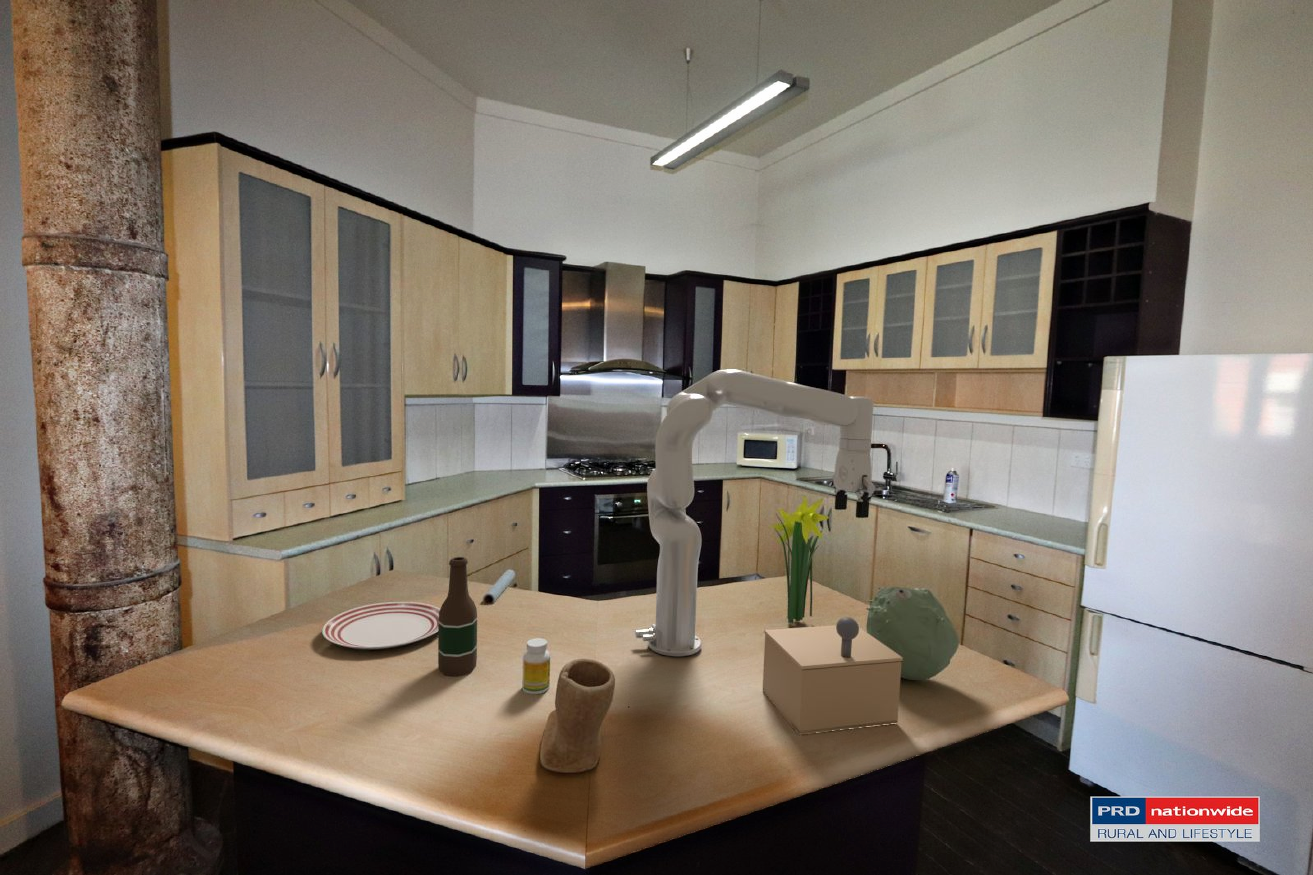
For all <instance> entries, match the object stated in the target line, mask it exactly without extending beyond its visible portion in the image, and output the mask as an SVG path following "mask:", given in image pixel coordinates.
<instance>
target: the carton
mask: <svg viewBox="0 0 1313 875" xmlns="http://www.w3.org/2000/svg"><path fill="white" fill-rule="evenodd" d="M763 650H764V651H763V670H762V671H763V672H762V674H763V675H762V690H763V691H764V692H765V693H764V692H763V691H762V692H763V693H764V695H765V694H766V695H767V696H768V697H769V698H768V697H767V696H766V695H765V696H766V697H767V698H768V700H769V699H770V700H771V701H772V702H771V701H770V700H769V701H770V702H771V703H772V704H773V706H774V705H775V706H774V707H775V708H776V709H777V710H778V712H779V714H781V716H783V717H784V719H785V720H786V721H787V723H788V724H789V723H790V724H789V725H790V726H791V727H792V729H793V728H794V729H795V730H794V729H793V730H794V731H795V733H796V734H797V733H798V734H799V735H800V736H803V735H802V734H808V735H811V734H810V733H816V732H826V731H832V730H840V729H849V728H859V727H866V726H873V725H883V724H891V723H897V724H898V721H899V720H898V719H899V704H900V691H901V678H902V677H901V663H902V662H901V661H894V662H883V663H871V664H859V665H848V666H836V667H825V668H813V669H801V668H800V667H799V666H798V665H797V664H795V663H794V662H793V661H792V660H791V659H790V658H789V657H788V656H787V655H786V654H785V653H784V652H783V651H782V650H781V649H780V648H779V647H778V646H777V645H776V644H775V643H774V642H773V641H772V640H771V639H770V638H769V637H768V636H767V635H766V634H765V633H764V649H763ZM826 733H827V732H826ZM798 734H797V735H798ZM799 735H798V736H799Z"/></svg>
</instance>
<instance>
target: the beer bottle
mask: <svg viewBox="0 0 1313 875" xmlns="http://www.w3.org/2000/svg"><path fill="white" fill-rule="evenodd" d="M468 563H469V562H468V558H466V557H464V556H456V557H452V558H451V559H450V560H449V562H448V565H449V566H450V570H449V580H448V592H447V596H446V598H445V599H444V601H443V603H442V604H441V607H440V611H439V620H438V632H437V633H438V634H437V635H438V636H437V638H438V642H437V647H438V648H437V659H438V660H437V664H438V665H437V666H438V671H439V673H441V674H442V675H443V676H444V677H456V678H457V677H462V676H465V675H467V674H470V673H472V672H473V671H474V669H475V668H476V666H477V660H478V659H477V658H478V610H477V609H478V608H477V605H476V604H475V601H474V600H473V599H472V598H471V596H470V593H469V588H468V587H469V586H468V584H469V583H468V571H467V570H468V568H467V565H468Z"/></svg>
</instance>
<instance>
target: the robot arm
mask: <svg viewBox="0 0 1313 875" xmlns="http://www.w3.org/2000/svg"><path fill="white" fill-rule="evenodd" d="M724 405H727V406H728V405H729V406H733V407H737V408H741V409H746V410H750V411H754V412H755V411H756V412H759V413H764V414H768V415H771V416H777V417H778V416H779V417H783V418H797V419H798V418H799V419H805V420H810V421H813V422H814V423H816V424H819V425H824V426H832V427H840V428H839V446H838V451H837V453H836V454H837V455H836V459H835V466H834V474H833V475H832V480H833V488H834V494H835V496H834V510H836V511H840V510H841V511H844V510H847V508H848V494H847V492H848V493H851V494H852V493H855V495H856V497H857V501H856V503H855V505H856V506H855V518H857V519H868V518H869V514H870V513H869V512H870V503H871V501H872V498H874V497H873V496H874V492H875V490H876V486H875V484H874V483H873V482H872V460H871V459H872V458H871V452H872V451H871V450H872V434H873V431H872V430H873V418H874V417H873V416H874V401H873V399H872V398H871V397H868V396H849V395H846V394H842V393H839V392H835V391H831V390H826V389H822V388H816V387H813V386H812V387H811V386H808V385H803V384H800V383H794V382H792V381H791V382H790V381H786V380H781V379H778V378H773V377H768V376H766V375H761V374H757V373H753V372H749V371H745V370H740V369H736V368H735V369H732V368H730V369H719V370H716V371H714V372H712V373H709V374H708V375H707V376H705V377H704V378H702V379H700V380H699V381H697V382H695V383H694V384H691V385H690V386H689V387H687V388H686V389H683V390H682V391H680V392H679V393H677V394H675V395H674V396H673V397H672V398H671V399H670V400H669V402H668V404H667V406H666V415H665V417H664V418H663V420H662V421H661V423H660V425H659V427H658V430H657V433H656V437H655V445H654V446H655V449H654V450H655V468H654V469H653V470H652V471H651V472H650V475H649V477H648V479H647V484H646V485H647V486H646V491H647V492H646V494H647V495H646V496H647V505H648V506H647V507H648V510H647V511H648V520H649V528H650V532H651V535H652V537H653V538H654V539H655V541H656V542H657V543H658V544H659V556H658V562H657V571H656V597H655V598H656V601H655V623H652V624H651V627H648V628H647V629H643V628H642V629H635V633H634V634H635V639H642V641H643V642H647V643H648V647H649V648H650V650H652V651H653V652H655V653H656V654H660V655H664V656H669V657H686V656H687V657H688V656H690V655H694V654H696V653H698V652H699V651H700V650H701V647H702V640H701V639H700V637H698V636H697V635H696V622H697V621H696V620H697V619H696V618H697V617H696V616H697V614H696V613H697V596H698V594H697V593H698V592H697V591H698V572H699V570H698V568H699V561H700V560H699V558H700V554H701V548H702V542H703V541H702V540H703V539H702V533H701V530H700V527H699V526H698V524H697V523H696V521H695V520H694V519H693V518H691V517H690V516H689V515H687V514H686V512H687V511H686V508H687V507H689V505H690V504H691V503H692V502H693V500H694V496H695V481H694V470H693V445H694V441H695V438H696V437H697V435H698V434H699V433H700V432H701V431H702V430H703V429H704V428H705V427H707V426H708V424H710V422H711V420H712V418H713V413H714V411H716V410H718V409H719V408H720V407H722V406H724Z"/></svg>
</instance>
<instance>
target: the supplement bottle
mask: <svg viewBox="0 0 1313 875" xmlns="http://www.w3.org/2000/svg"><path fill="white" fill-rule="evenodd" d="M547 649H548V641H547V639H545V638H542V637H541V638H540V637H538V638H532V639H529V640H528V641H527V642H526V651H525V652H524V653H523V655H522V690H523V691H524V693H526V692H527V694H529V693H530V695H539V694H544V693H545V692H547V691H548V690H549V688H550V686H551V685H550V683H551V682H550V681H551V680H550V677H551V675H550V673H551V653H550V651H549V650H547Z"/></svg>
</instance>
